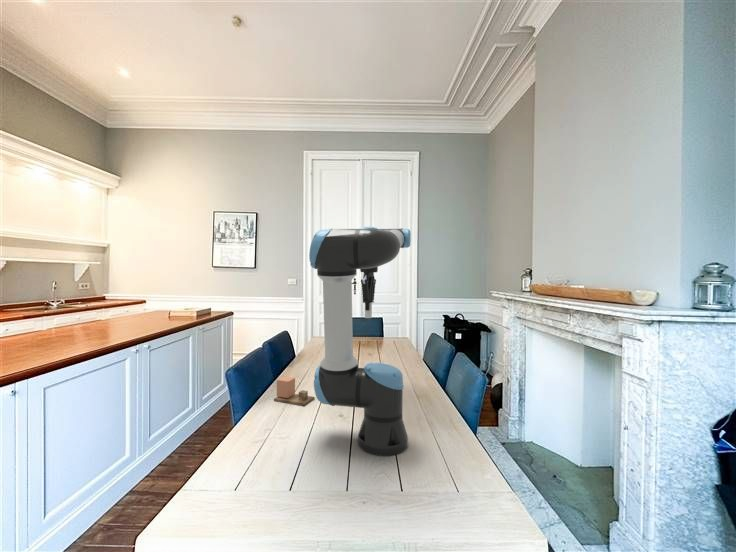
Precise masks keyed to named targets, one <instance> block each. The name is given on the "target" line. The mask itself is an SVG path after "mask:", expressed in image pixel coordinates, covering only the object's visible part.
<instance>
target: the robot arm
mask: <svg viewBox="0 0 736 552" xmlns="http://www.w3.org/2000/svg"><path fill="white" fill-rule="evenodd" d="M411 235H412V234H411V229H409V228H377V227H376V226H363V227H360V228H328V229H327V228H325V229H319V230H318V231H317V232H315V234H314V235H313V237H312V239H311V242H310V247H309V264H310V267H311V268H313V269H314V270H316V271H317V273H316V275H317V277H318V278H319V279H320V280H321V281H322V299H323V331H324V332H323V333H324V334H323V335H324V358H323V359H321V361H320V363H319V366H317V368H316V369H315V370H314V371H315V372H314V375H313V376H314V379H313V390H314V394H315V398H316V399H317V401H318V402H319V403H321V404H323V405H330V406H332V407H336V406H338V407H349V408H358V409H359V408H361V409H362V408H363V410H364V411H363V419H362V422H361V425H360V428H359V431H358V435H357V445H358V447H359V448H360V449H361V450H362V451H364V452H366V453H368V454H371V455H375V456H383V457H384V456H385V457H387V456H388V457H389V456H394V455H399V454H401V453H403V452H404V451H406V450H407V448H408V446H409V437H408V432H407V429H406V425H405V423H404V419H403V397H404V396H403V395H404V390H403V389H404V388H405V387H404V377H403V373H402V371H401V370H400V369H399V368H397V367H396V366H394V365H392V364H387V363H384V362H368V363H366V364H365V365H364V367H359V361H358V359H357V358H356V357H354V341H353V340H354V339H353V337H354V335H353V330H354V329H353V290H352V289H353V286H352V285H353V284H352V282H353V279H354V278H355V277H356V276H357V270H359V272H360V273H363V276H362V278H361V279H360V283H361V291H362V292H361V293H362V294H361V295H362V303H363V304H364V319H373V318H372V317H373V315H372V314H373V303H375V301H374V300H375V293H376V284H377V278H375V273H378V269H379V268H378V267H381V266H383V265H386V264H388V263H391V261H394V260H395V259H396V258H397V256H398V254H399V253H400V250H401V249H404V248H405V249H406V248H409V247H411V243H412V242H411V241H412V240H411V238H412V237H411Z"/></svg>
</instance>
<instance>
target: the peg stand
mask: <svg viewBox="0 0 736 552" xmlns="http://www.w3.org/2000/svg"><path fill="white" fill-rule="evenodd" d="M315 399H316V396H310V395H309V393H308V390H303V389H302V390H299V391H298V393H295V394H294V395H292V396H290V397H289V398H284V397H278V396H276V397H274V398H273V402H277V403H284V404H288V405H294V406H298V407H299V406H302V407H306V406H308V405H309V404H310V403H311V402H313V401H315Z"/></svg>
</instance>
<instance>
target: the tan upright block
mask: <svg viewBox="0 0 736 552" xmlns="http://www.w3.org/2000/svg"><path fill="white" fill-rule="evenodd" d="M294 394H296V377H291V376H282V377H279V378H277V379H276V397H284V398H289V397H290V396H292V395H294Z"/></svg>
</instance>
